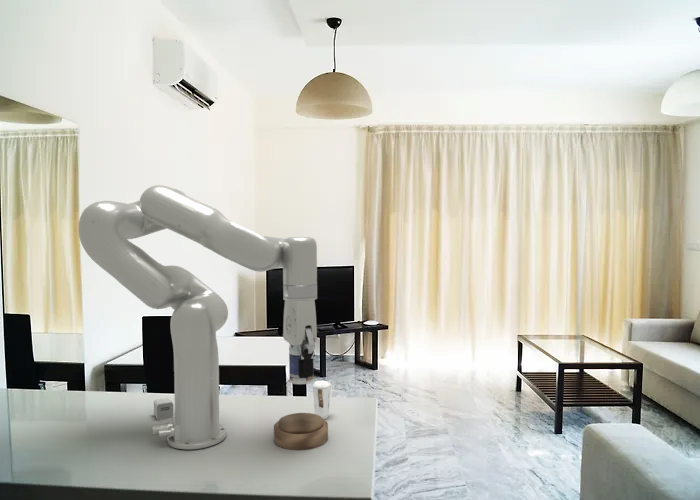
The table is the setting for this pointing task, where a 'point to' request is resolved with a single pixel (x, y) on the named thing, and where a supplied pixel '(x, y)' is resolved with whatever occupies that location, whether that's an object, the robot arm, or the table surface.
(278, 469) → the table surface
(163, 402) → the usb wall charger
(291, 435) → the walnut stand
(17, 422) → the table surface
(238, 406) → the table surface
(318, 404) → the milkshake
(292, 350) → the pill bottle
